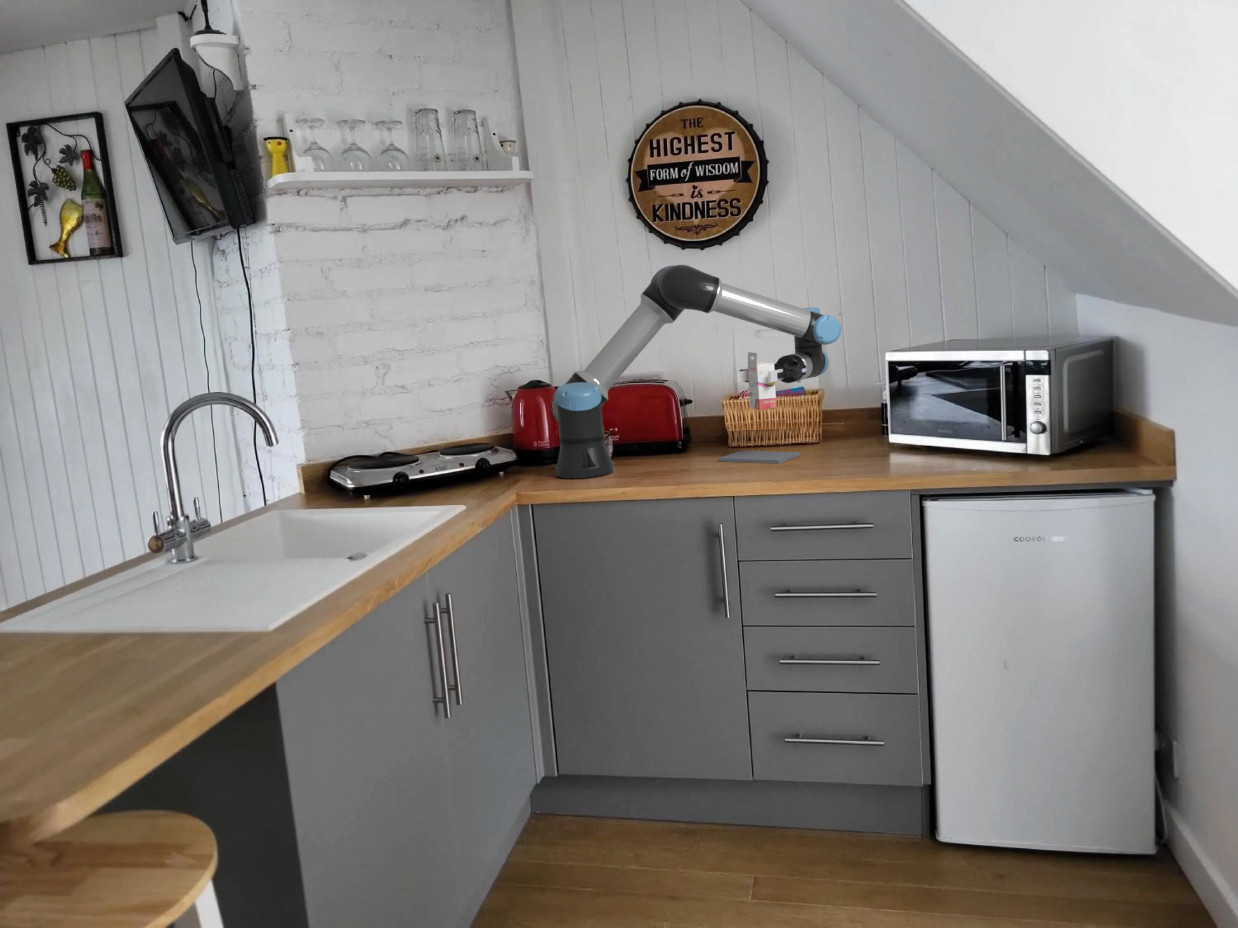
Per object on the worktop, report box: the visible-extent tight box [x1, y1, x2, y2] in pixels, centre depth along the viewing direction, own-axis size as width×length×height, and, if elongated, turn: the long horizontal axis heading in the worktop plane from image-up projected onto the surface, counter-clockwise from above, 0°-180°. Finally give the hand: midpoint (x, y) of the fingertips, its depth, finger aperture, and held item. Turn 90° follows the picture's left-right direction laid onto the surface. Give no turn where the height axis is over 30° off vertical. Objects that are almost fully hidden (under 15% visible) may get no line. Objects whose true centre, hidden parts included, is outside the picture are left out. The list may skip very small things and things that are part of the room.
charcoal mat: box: [718, 450, 802, 465], centre depth 280 cm, size 18×12×1 cm, turn 54°
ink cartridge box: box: [747, 351, 777, 411], centre depth 275 cm, size 9×5×15 cm, turn 10°
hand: (752, 377), depth 271 cm, fingers closed on ink cartridge box, 9 cm apart
